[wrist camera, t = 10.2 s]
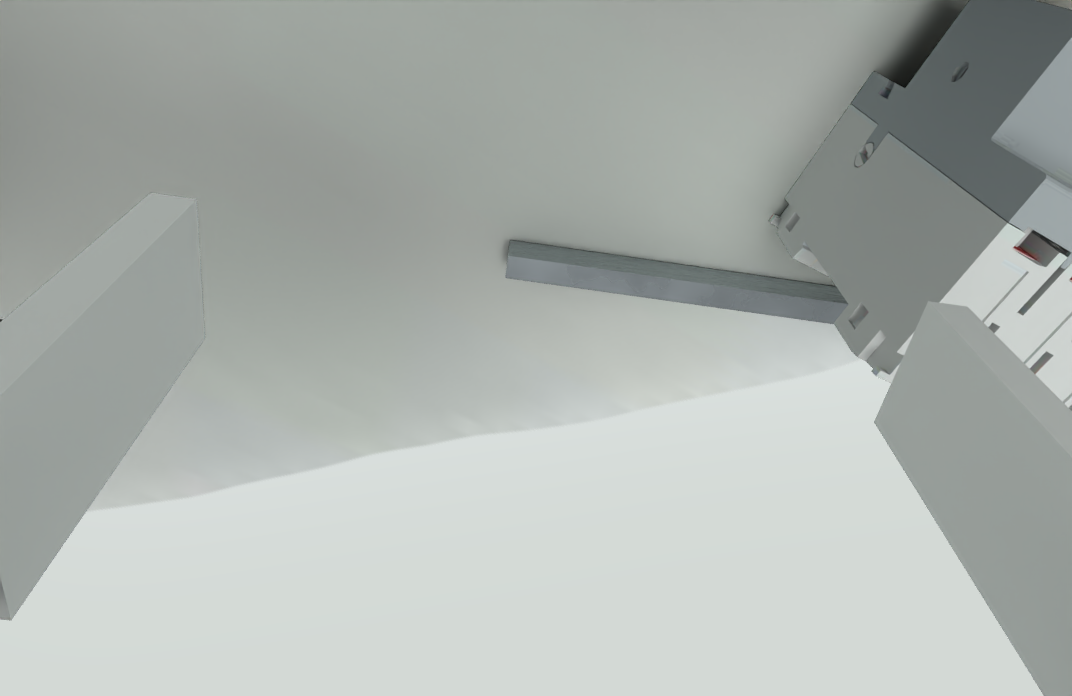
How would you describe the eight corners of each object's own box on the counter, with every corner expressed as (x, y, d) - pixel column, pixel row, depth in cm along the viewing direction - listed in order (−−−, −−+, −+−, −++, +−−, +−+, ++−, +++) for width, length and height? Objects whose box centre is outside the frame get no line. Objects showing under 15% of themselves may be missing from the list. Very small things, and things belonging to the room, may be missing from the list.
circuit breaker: (1098, 24, 36) (1409, 108, 23) (887, 283, 42) (1037, 463, 29) (967, -63, 34) (1221, -26, 21) (768, 220, 41) (870, 381, 28)
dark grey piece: (507, 261, 42) (482, 488, 26) (577, -231, 32) (603, -334, 16) (970, 327, 44) (1204, 578, 28) (1183, -122, 33) (1747, -119, 18)
